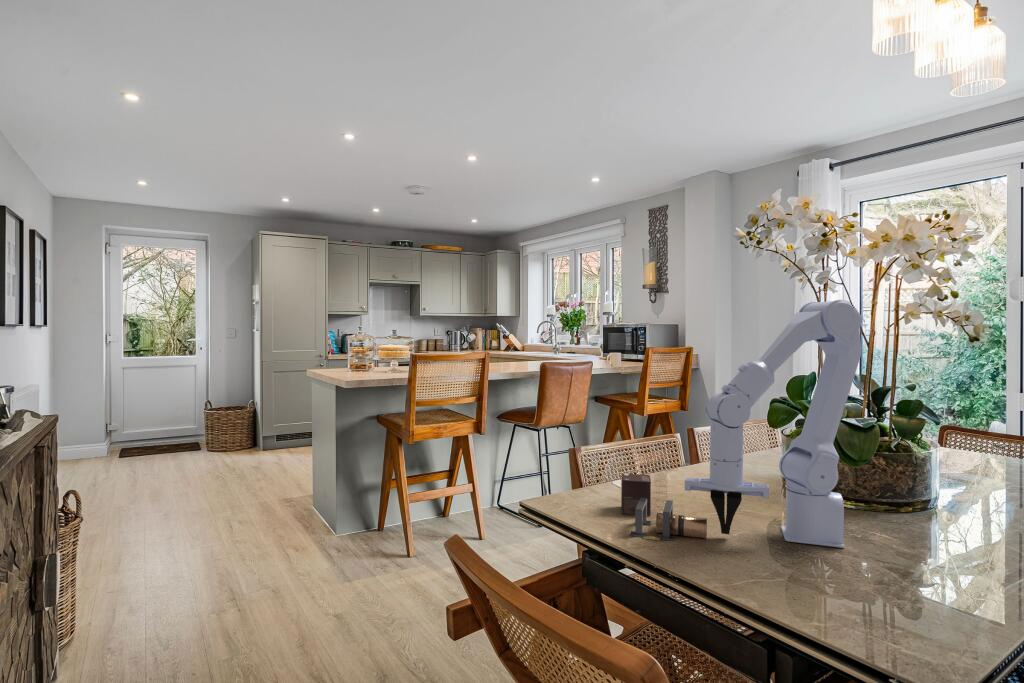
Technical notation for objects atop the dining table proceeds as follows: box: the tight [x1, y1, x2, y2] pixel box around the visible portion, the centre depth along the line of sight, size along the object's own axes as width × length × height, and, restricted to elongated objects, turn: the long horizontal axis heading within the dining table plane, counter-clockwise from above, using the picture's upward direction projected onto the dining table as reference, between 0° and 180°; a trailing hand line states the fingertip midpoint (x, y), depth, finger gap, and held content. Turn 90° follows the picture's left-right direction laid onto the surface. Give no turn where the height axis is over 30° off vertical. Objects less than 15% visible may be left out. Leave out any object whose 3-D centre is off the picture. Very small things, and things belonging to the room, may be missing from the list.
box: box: [620, 473, 652, 517], centre depth 124 cm, size 6×6×7 cm
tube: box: [655, 512, 708, 539], centre depth 109 cm, size 9×4×4 cm, turn 70°
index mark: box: [642, 535, 661, 542], centre depth 107 cm, size 3×1×1 cm, turn 71°
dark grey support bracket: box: [656, 499, 676, 542], centre depth 111 cm, size 3×9×5 cm, turn 160°
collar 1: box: [629, 498, 653, 538], centre depth 113 cm, size 3×9×5 cm, turn 161°
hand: (725, 532), depth 107 cm, fingers closed
